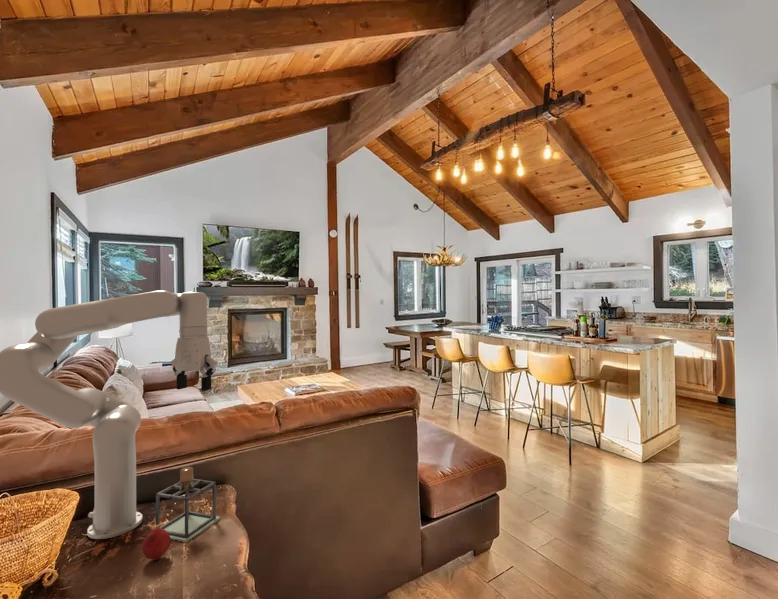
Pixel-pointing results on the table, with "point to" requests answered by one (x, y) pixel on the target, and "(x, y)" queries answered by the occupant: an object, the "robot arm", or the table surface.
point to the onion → (156, 543)
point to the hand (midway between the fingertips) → (193, 389)
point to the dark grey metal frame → (186, 500)
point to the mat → (189, 526)
